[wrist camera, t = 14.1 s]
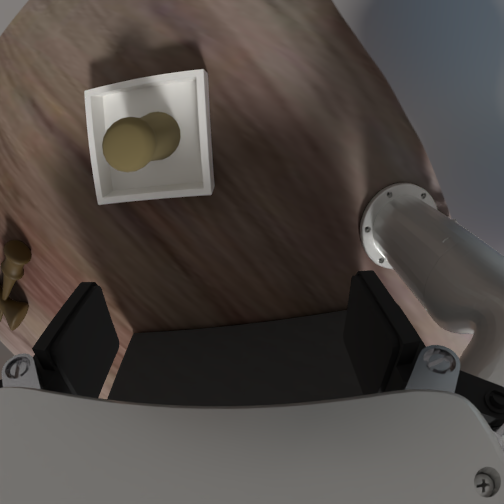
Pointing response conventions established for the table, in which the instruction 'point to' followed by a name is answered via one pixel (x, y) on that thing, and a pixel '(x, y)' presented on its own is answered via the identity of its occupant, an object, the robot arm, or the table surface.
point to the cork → (140, 141)
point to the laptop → (240, 364)
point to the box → (160, 171)
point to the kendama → (13, 271)
